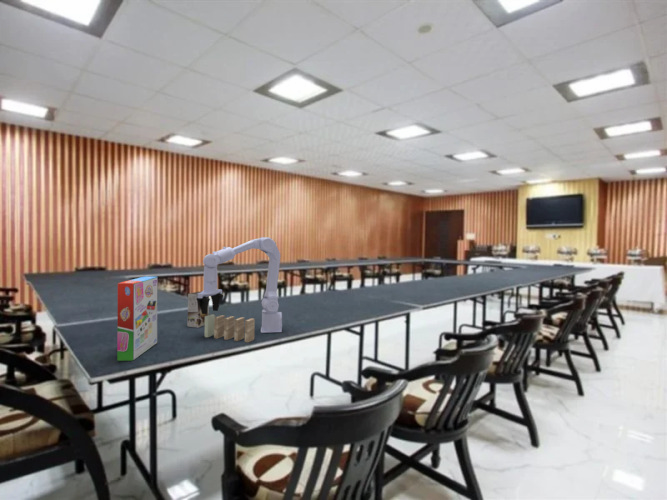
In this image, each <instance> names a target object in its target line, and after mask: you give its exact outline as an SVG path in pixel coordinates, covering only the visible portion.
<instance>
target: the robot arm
mask: <svg viewBox="0 0 667 500" xmlns="http://www.w3.org/2000/svg"><path fill="white" fill-rule="evenodd" d="M251 249H252V250H253V249H254V250H255V249H256V250H257V249H258V250H260V251H261V252H263V253H264V254H265V255H266V256H267V257H268V258H269V260H268V268H267V277H266V286H265V287H266V288H265V292H264V294H263V298H262V300H261V305H260V306H261V307H262V310H261V327H260V333H261V334H262V333H263V334H264V333H265V334H266V333H270V334H271V333H282V332H283V331H282V330H283V312H282V311H279V308H280V307H279V306H280V304H279V298H278V297H279V296H278V293H277V292H278V283H279V282H278V281H279V273H280V265H281V255H282V254H281V252H280V250H279V248H278V246H277V243H276V241H275V240H274V239H272V237H267V236H264V237H263V236H261V237H259V238H255V239H254V238H253V239H251V240H249V241H246V242H244V243H241V244H239V245H237V246H235V247H233V248H232V247H230V246H223V247H222V249H219V250H217V251H212V253H209V254H206V255H205V256H204V257H203V260H202V262H203V265H204V266H203V290H202V291H200V292H201V293H198V294H197V301H198V303H199V305H200V308H201V312H202V314H207V311H208V304H209V305H210V300H211V303H212V311H213V312H215V311H216V312H217V311H219V309H220V304H221V301H222V299H223V298H224V294H223V289H221V288H220V289H219V288H218V265H219V264H220V265H221V264H224V263H225V262H229V261H232V260H233V259H234V258H235V256H236V255H238V254H241V253H245V252H246V251H249V250H251ZM208 296H209V298H206V297H208Z"/></svg>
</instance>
